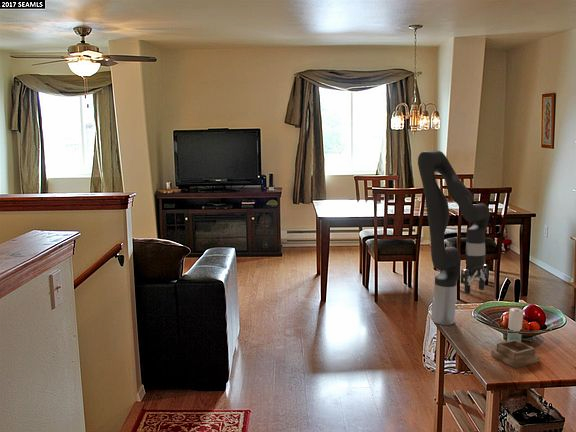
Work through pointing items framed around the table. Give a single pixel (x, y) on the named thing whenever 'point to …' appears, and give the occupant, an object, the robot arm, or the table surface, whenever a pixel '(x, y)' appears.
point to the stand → (515, 353)
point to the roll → (515, 323)
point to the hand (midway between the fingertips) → (474, 291)
